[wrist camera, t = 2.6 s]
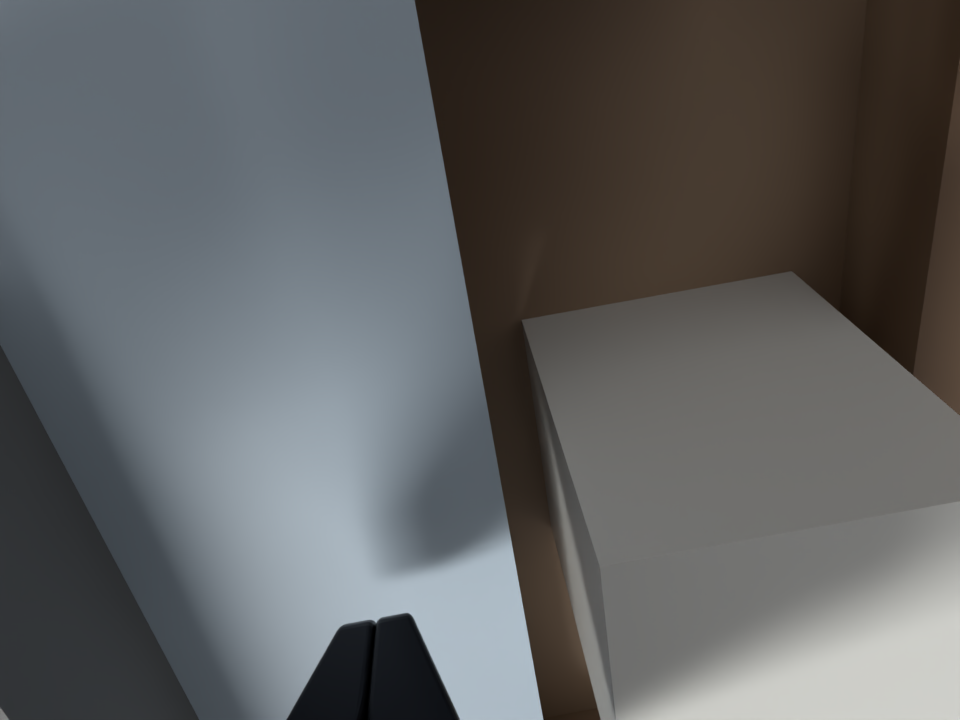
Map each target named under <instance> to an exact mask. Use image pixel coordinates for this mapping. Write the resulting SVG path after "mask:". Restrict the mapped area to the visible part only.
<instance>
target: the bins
mask: <svg viewBox="0 0 960 720" xmlns="http://www.w3.org/2000/svg"><path fill="white" fill-rule="evenodd" d="M415 6H416V11H417V17H418V23H419V28H420V34H421V39H422V45H423V50H424V56H425V62H426V67H427V73H428V78H429V84H430V90H431V95H432V101H433V106H434V112H435V117H436V123H437V129H438V134H439V140H440V145H441V151H442V157H443V162H444V168H445V173H446V179H447V184H448V190H449V196H450V201H451V207H452V212H453V218H454V224H455V229H456V235H457V240H458V246H459V252H460V257H461V263H462V268H463V274H464V279H465V285H466V291H467V296H468V302H469V307H470V313H471V319H472V324H473V330H474V335H475V341H476V346H477V352H478V358H479V363H480V369H481V374H482V380H483V386H484V391H485V397H486V402H487V408H488V413H489V419H490V425H491V430H492V436H493V441H494V447H495V453H496V458H497V464H498V469H499V475H500V481H501V486H502V492H503V497H504V503H505V508H506V514H507V520H508V525H509V531H510V536H511V542H512V548H513V553H514V559H515V564H516V570H517V575H518V581H519V587H520V592H521V598H522V603H523V609H524V615H525V620H526V626H527V631H528V637H529V642H530V648H531V654H532V659H533V665H534V670H535V676H536V682H537V687H538V693H539V698H540V704H541V710H542V715H543V720H601V719H600V715H599V711H598V707H597V703H596V700H595V696H594V692H593V688H592V684H591V680H590V676H589V672H588V668H587V664H586V661H585V657H584V653H583V649H582V645H581V641H580V637H579V633H578V629H577V625H576V622H575V618H574V614H573V610H572V606H571V602H570V598H569V594H568V590H567V587H566V583H565V579H564V575H563V571H562V567H561V563H560V559H559V555H558V551H557V548H556V544H555V540H554V536H553V532H552V528H551V522H550V515H549V508H548V501H547V494H546V487H545V480H544V473H543V466H542V459H541V452H540V445H539V438H538V431H537V424H536V417H535V410H534V403H533V396H532V389H531V382H530V375H529V368H528V361H527V354H526V347H525V340H524V333H523V326H522V320H524V319H530V318H535V317H541V316H546V315H552V314H558V313H563V312H569V311H574V310H580V309H585V308H591V307H596V306H602V305H607V304H613V303H618V302H624V301H629V300H635V299H640V298H646V297H652V296H657V295H663V294H668V293H674V292H679V291H685V290H690V289H696V288H701V287H707V286H712V285H718V284H723V283H729V282H734V281H740V280H746V279H751V278H757V277H762V276H768V275H773V274H779V273H784V272H790V271H792V272H793V273H795V274H796V275H797V276H798V277H799V278H800V279H802V280H803V281H804V282H805V283H806V284H807V285H809V286H810V287H811V288H812V289H813V290H814V291H815V292H817V293H818V294H819V295H820V296H821V297H822V298H824V299H825V300H826V301H827V302H828V303H829V304H831V305H832V306H833V307H834V308H835V309H836V310H838V311H839V312H840V313H841V314H842V315H843V316H845V317H846V318H847V319H848V320H849V321H850V322H852V323H853V324H854V325H855V326H856V327H857V328H859V329H860V330H861V331H862V332H863V333H864V334H865V335H867V336H868V337H869V338H870V339H871V340H872V341H874V342H875V343H876V344H877V345H878V346H879V347H881V348H882V349H883V350H884V351H885V352H886V353H888V354H889V355H890V356H891V357H892V358H893V359H895V360H896V361H897V362H898V363H899V364H900V365H902V366H903V367H904V368H905V369H906V370H907V371H908V372H910V373H911V374H912V375H913V376H914V377H915V378H917V379H918V380H919V381H920V382H921V383H922V384H924V385H925V386H926V387H927V388H928V389H929V390H931V391H932V392H933V393H934V394H935V395H936V396H938V397H939V398H940V399H941V400H942V401H943V402H945V403H946V404H947V405H948V406H949V407H950V408H951V409H953V410H954V411H955V412H956V413H957V414H958V415H960V0H415Z"/></svg>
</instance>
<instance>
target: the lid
mask: <svg viewBox="0 0 960 720" xmlns="http://www.w3.org/2000/svg"><path fill="white" fill-rule="evenodd" d="M402 613H409V614H411V615H412V616H413V618H414V620H415V622H416V624H417V626H418V629H419V631H420V633H421V635H422V637H423V640H424V642H425V644H426V646H427V648H428V650H429V653H430V655H431V657H432V659H433V661H434V664H435V666H436V668H437V670H438V672H439V674H440V677H441V679H442V681H443V683H444V685H445V687H446V690H447V692H448V694H449V696H450V698H451V701H452V703H453V705H454V707H455V709H456V711H457V714H458V716H459V718H460V720H543V715H542V710H541V704H540V698H539V693H538V687H537V682H536V676H535V670H534V665H533V659H532V654H531V648H530V642H529V637H528V631H527V626H526V620H525V615H524V609H523V603H522V598H521V592H520V587H519V581H518V575H517V570H516V564H515V559H514V553H513V548H512V542H511V536H510V531H509V525H508V520H507V514H506V508H505V503H504V497H503V492H502V486H501V481H500V475H499V469H498V464H497V458H496V453H495V447H494V441H493V436H492V430H491V425H490V419H489V413H488V408H487V402H486V397H485V391H484V386H483V380H482V374H481V369H480V363H479V358H478V352H477V346H476V341H475V335H474V330H473V324H472V319H471V313H470V307H469V302H468V296H467V291H466V285H465V279H464V274H463V268H462V263H461V257H460V252H459V246H458V240H457V235H456V229H455V224H454V218H453V212H452V207H451V201H450V196H449V190H448V184H447V179H446V173H445V168H444V162H443V157H442V151H441V145H440V140H439V134H438V129H437V123H436V117H435V112H434V106H433V101H432V95H431V90H430V84H429V78H428V73H427V67H426V62H425V56H424V50H423V45H422V39H421V34H420V28H419V23H418V17H417V11H416V6H415V0H0V720H286V719H287V718H288V716H289V714H290V712H291V711H292V709H293V707H294V705H295V703H296V702H297V700H298V698H299V696H300V695H301V693H302V691H303V689H304V688H305V686H306V684H307V682H308V681H309V679H310V677H311V675H312V674H313V672H314V670H315V668H316V666H317V665H318V663H319V661H320V659H321V658H322V656H323V654H324V652H325V651H326V649H327V647H328V645H329V644H330V642H331V640H332V638H333V637H334V635H335V633H336V631H337V630H338V629H339V627H341V626H342V625H344V624H348V623H353V622H359V621H364V620H373V621H375V622H376V623H377V621H378V620H379V619H380V618H382V617H386V616H391V615H397V614H402Z"/></svg>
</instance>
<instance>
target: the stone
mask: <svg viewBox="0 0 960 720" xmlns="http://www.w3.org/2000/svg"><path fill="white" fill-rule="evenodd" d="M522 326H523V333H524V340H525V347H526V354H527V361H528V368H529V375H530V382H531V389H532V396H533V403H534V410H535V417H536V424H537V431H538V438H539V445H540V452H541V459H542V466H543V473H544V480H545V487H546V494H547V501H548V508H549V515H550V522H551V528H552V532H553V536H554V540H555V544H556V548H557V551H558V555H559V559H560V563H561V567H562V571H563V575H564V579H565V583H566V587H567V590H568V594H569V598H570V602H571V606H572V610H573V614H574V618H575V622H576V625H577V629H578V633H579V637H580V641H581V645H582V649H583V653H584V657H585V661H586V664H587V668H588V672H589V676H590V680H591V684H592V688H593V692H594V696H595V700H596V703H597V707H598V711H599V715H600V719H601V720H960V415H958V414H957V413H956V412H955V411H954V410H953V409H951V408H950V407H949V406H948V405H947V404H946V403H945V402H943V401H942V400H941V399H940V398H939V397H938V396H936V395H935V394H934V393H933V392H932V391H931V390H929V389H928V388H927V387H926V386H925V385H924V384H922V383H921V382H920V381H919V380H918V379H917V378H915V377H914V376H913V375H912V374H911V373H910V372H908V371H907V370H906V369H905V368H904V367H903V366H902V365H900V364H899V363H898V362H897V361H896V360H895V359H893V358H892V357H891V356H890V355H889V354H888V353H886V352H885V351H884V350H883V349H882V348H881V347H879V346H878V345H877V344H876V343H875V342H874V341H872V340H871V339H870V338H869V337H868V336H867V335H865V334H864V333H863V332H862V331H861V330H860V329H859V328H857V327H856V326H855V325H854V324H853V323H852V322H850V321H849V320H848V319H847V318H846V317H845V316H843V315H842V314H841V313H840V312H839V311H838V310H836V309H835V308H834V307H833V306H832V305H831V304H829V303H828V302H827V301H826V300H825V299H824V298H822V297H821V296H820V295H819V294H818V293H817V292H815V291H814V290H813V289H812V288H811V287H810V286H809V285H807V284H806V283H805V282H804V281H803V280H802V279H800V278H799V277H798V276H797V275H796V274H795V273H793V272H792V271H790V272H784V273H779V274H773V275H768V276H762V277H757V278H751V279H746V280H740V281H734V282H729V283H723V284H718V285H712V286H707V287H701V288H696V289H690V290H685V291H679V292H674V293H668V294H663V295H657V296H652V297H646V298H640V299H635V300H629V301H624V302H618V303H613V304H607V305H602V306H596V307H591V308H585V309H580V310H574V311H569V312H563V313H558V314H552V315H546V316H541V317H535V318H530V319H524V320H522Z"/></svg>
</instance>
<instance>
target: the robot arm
mask: <svg viewBox="0 0 960 720" xmlns="http://www.w3.org/2000/svg"><path fill="white" fill-rule="evenodd" d="M286 720H460V718H459V716H458V714H457V711H456V709H455V707H454V705H453V703H452V701H451V698H450V696H449V694H448V692H447V690H446V687H445V685H444V683H443V681H442V679H441V677H440V674H439V672H438V670H437V668H436V666H435V664H434V661H433V659H432V657H431V655H430V653H429V650H428V648H427V646H426V644H425V642H424V640H423V637H422V635H421V633H420V631H419V629H418V626H417V624H416V622H415V620H414V618H413V616H412V615H411V614H409V613H402V614H397V615H391V616H386V617H382V618H380V619H379V620H378V621H377V623H376V622H375V621H373V620H364V621H359V622H353V623H348V624H344V625H342V626H341V627H339V629H338V630H337V631H336V633H335V635H334V637H333V638H332V640H331V642H330V644H329V645H328V647H327V649H326V651H325V652H324V654H323V656H322V658H321V659H320V661H319V663H318V665H317V666H316V668H315V670H314V672H313V674H312V675H311V677H310V679H309V681H308V682H307V684H306V686H305V688H304V689H303V691H302V693H301V695H300V696H299V698H298V700H297V702H296V703H295V705H294V707H293V709H292V711H291V712H290V714H289V716H288V718H287V719H286Z"/></svg>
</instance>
